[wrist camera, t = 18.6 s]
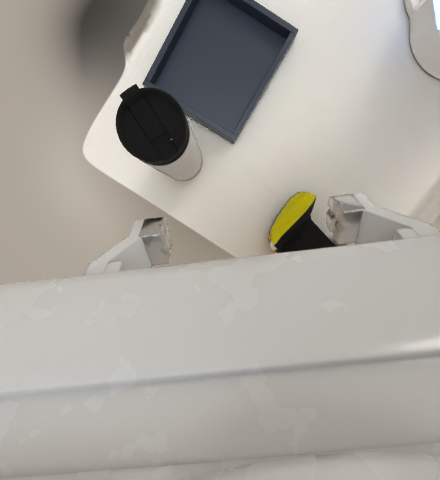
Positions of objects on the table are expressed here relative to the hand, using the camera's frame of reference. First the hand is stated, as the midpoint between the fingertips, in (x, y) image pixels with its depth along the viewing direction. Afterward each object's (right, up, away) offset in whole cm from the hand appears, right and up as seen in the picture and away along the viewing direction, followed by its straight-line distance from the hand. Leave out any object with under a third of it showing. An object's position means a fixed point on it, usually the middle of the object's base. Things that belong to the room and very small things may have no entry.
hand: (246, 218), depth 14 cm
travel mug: (-7, +12, +30) cm, 33 cm away
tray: (-1, +25, +28) cm, 38 cm away
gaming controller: (+13, -1, +31) cm, 34 cm away
